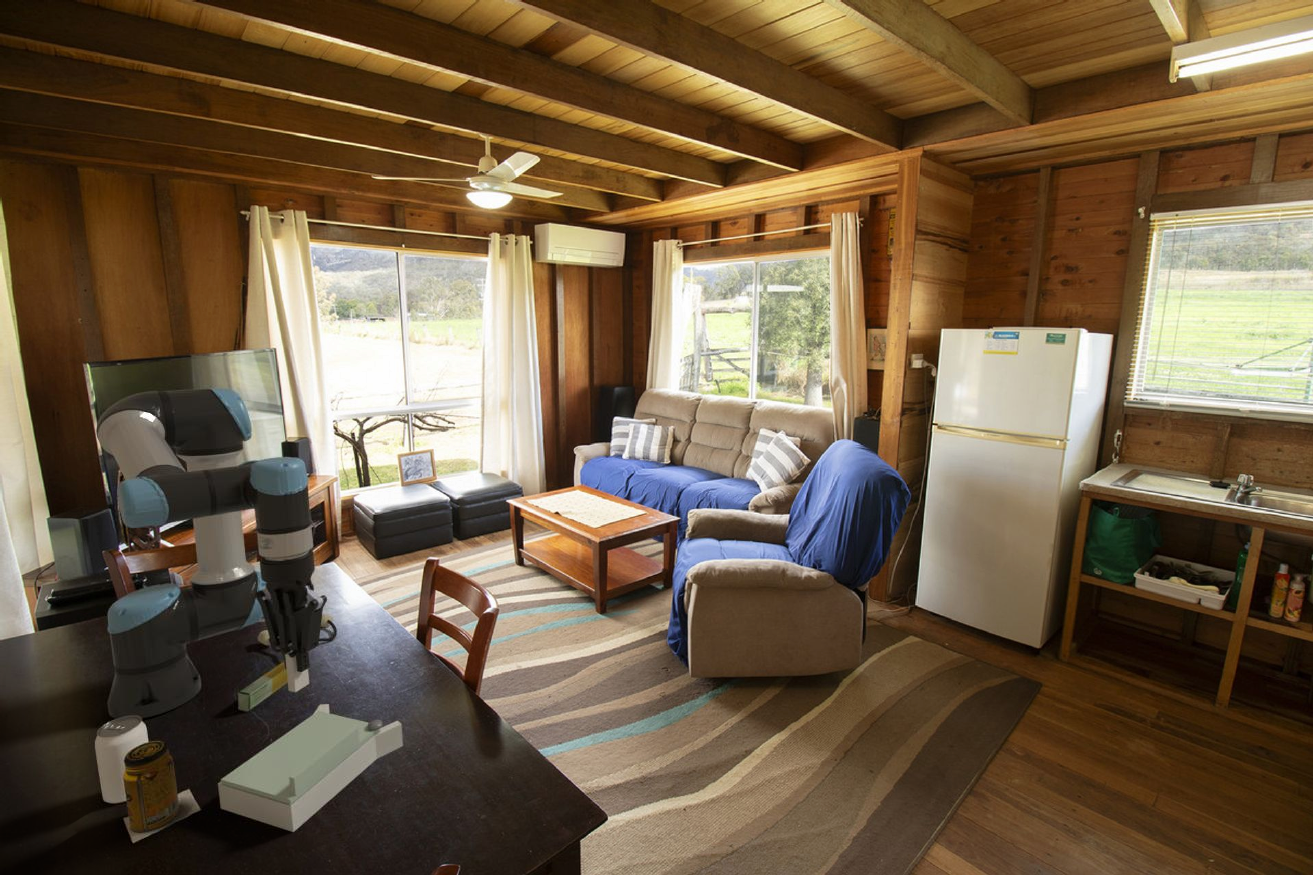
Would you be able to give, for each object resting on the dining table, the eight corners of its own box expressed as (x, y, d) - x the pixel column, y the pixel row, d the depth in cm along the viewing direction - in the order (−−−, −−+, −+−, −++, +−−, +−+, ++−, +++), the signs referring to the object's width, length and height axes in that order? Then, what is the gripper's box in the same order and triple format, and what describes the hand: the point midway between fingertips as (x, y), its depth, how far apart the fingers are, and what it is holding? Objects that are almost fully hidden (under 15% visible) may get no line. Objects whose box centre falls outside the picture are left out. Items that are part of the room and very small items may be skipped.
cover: (221, 783, 97) (218, 762, 96) (321, 712, 115) (319, 694, 114) (293, 805, 92) (291, 782, 92) (385, 727, 111) (384, 709, 110)
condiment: (123, 819, 95) (113, 751, 93) (189, 789, 102) (181, 725, 100) (133, 844, 91) (122, 772, 89) (201, 811, 97) (193, 744, 95)
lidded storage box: (303, 835, 93) (301, 809, 92) (211, 805, 98) (208, 780, 98) (405, 743, 114) (404, 721, 113) (324, 723, 120) (322, 702, 119)
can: (124, 807, 98) (114, 740, 96) (92, 801, 99) (82, 735, 97) (163, 779, 104) (155, 716, 102) (133, 774, 105) (124, 711, 103)
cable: (354, 637, 152) (353, 624, 152) (283, 663, 139) (282, 648, 139) (325, 621, 161) (324, 609, 161) (256, 643, 149) (255, 630, 148)
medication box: (248, 712, 123) (248, 695, 122) (237, 709, 124) (236, 692, 123) (293, 679, 135) (293, 663, 134) (282, 676, 135) (282, 660, 134)
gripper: (234, 556, 96) (249, 692, 100) (297, 565, 92) (310, 706, 96) (276, 541, 103) (288, 669, 107) (337, 550, 100) (347, 681, 103)
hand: (299, 686), depth 102 cm, fingers closed
